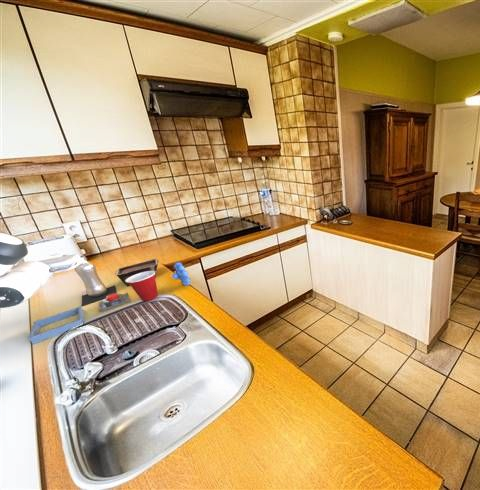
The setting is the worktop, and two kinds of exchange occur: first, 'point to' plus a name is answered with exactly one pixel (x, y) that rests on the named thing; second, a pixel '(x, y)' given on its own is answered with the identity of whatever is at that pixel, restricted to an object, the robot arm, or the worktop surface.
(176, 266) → the grapes
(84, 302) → the drying mat
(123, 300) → the control block
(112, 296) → the button
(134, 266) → the baking dish
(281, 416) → the worktop surface
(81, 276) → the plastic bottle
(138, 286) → the plastic cup
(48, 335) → the dish rack
